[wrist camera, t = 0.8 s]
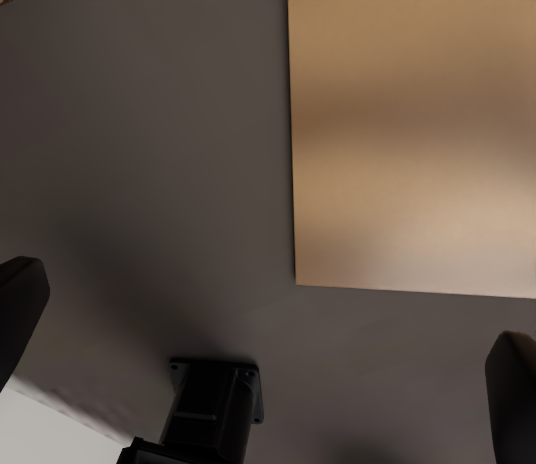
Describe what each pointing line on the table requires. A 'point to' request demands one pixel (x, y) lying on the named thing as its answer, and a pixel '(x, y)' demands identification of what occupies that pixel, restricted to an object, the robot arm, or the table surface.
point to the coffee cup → (4, 1)
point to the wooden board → (414, 145)
